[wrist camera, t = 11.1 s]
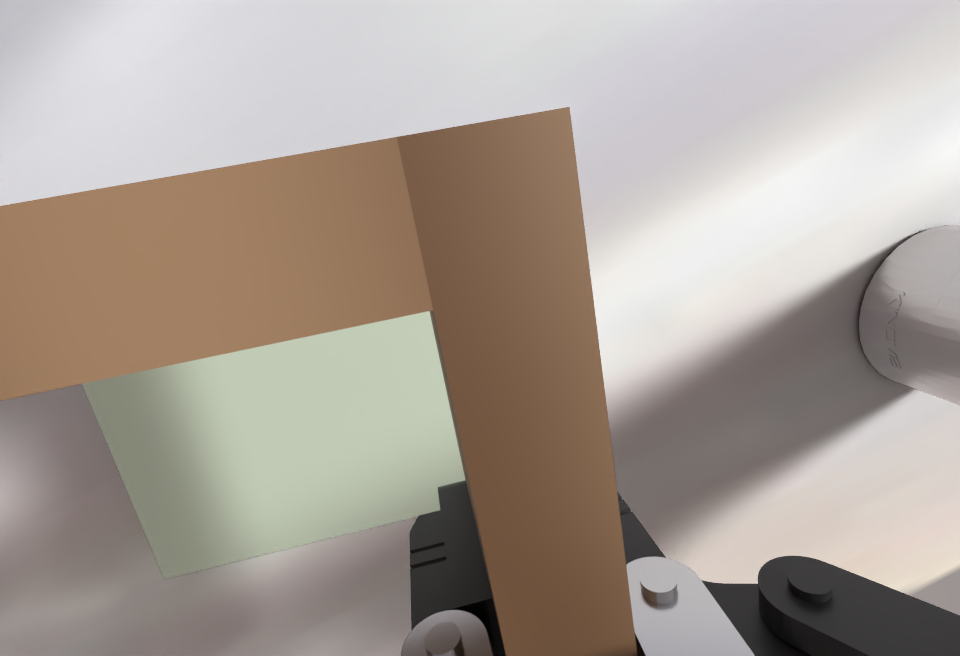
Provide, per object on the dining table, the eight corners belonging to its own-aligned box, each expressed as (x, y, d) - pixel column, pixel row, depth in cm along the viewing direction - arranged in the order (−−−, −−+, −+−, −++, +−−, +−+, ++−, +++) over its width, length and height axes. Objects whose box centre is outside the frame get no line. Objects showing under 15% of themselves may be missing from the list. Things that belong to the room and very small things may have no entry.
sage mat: (480, 144, 23) (481, 143, 23) (538, 482, 28) (540, 486, 28) (22, 227, 21) (15, 227, 21) (167, 574, 26) (164, 579, 26)
